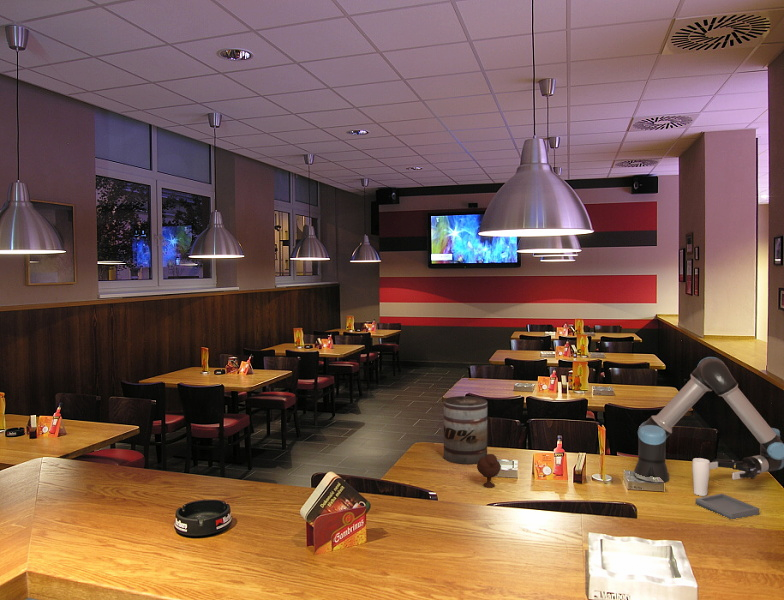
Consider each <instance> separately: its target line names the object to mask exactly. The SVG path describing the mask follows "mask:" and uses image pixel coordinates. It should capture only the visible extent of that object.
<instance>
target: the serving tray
mask: <svg viewBox="0 0 784 600" xmlns="http://www.w3.org/2000/svg"><path fill="white" fill-rule="evenodd" d="M696 504H697V505H696ZM695 505H696V506H698V505H699V507H700V506H701V507H700V508H702V507H703V509H705V508H706V509H705V510H707V509H708V510H707V511H709V510H710V511H709V512H711V511H713V512H712V513H714V512H715V513H714V514H716V513H718V514H720V515H722V516H721V517H723V516H725V517H727V518H729V519H736V518H741V519H743V518H742V517H745V518H749V517H748V516H750V517H754V516H753V515H755V516H759V515H760V508H759V507H757V506H755V505H751V504H749V503H747V502H745V501H741V500H739V499H737V498H734V497H732V496H730V495H727V494H726V493H718V494H713V495H706V496H700V497H698V498H697V497H696V498H695ZM718 514H717V515H718ZM758 514H759V515H758ZM720 515H719V516H720ZM725 517H724V518H725ZM727 518H726V519H727ZM729 519H728V520H729ZM736 520H737V519H736Z"/></svg>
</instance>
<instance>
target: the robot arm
mask: <svg viewBox="0 0 784 600" xmlns="http://www.w3.org/2000/svg"><path fill="white" fill-rule="evenodd" d="M696 366H697V367H695V368H694V370H693V371H692V372H691V373H690V379H689V380H688V381H687V383H685V385H684V386H682V388H680V390H679V391H678V392H677V393H676V394H675V396H673V398H671V400H670V401H669V402H667V404H666V405H665V406H664V407H663V408H662V409H661V410H660V411H659V413H657V414H656V415H651V416H650V417H649V418H648V419H647V420H646V421H643V422H642V423H641V424H640V425H639V427H638V430H637V436H638V437H637V438H638V455H637V456H638V459H637V462H636V465H635V468H634V470H633V473H634V472H635V473H637V474H639V475H642V476H645V477H650V476H653V477H660V478H661V479H662V480H663V481H664V483H667V482H669V481H670V473H669V471H668V468H667V465H666V445H667V444H666V443H667V442H666V440H667V438H668V437H670V435H671V434H672V433H673V427H675V425H676V424H677V423H678V422H679V421H680V419H682V418H683V417H684V416H685V414H686V413H687V412H688V411H689V410H691V408H693V406H694V405H695V404H696V403H697V402H698V401H699V400H700V399H701V398H702V397H703V396H704V394H706V393H707V392H712V391H714V392H715V394H717V395H718V397H722V398H723V399H724V401H725V402H726V403H727V404H728V405H729V406H730V408H731V409H732V410H733V412H734V413H735V414H736V416H738V418H739V419H740V420H741V422H742V423H743V424H744V425H745V426H746V428H747V429H748V430H749V431H750V432H751V434H752V435H753V437H755V439H756V440H757V442H759V444H760V446H759V447H760V450H759V451H760V453H759V455H753V456H747V457H743V459H742V460H741V461H736V460H735V459H712V462H710V470H715V469H718V468H724V469H732V470H735V472H732V480H738V479H739V480H740V479H744V478H746V479H749V478H750V479H751V480H754V479H755V478H756V477H757V476H758V475H761V473H767V472H775V471H778V470H782V469H783V468H784V443H783V441H782V440H781V435H780V434H781V431H780V430H779V429H778V428H775V427H771V426H770V425H769V424H768V423H767V421H766V420H765V419H764V417H762V415H761V414H760V413H759V412H758V410H757V409H756V408H755V406H754V405H753V404H752V403H751V402H750V401H749V399H748V398H747V397H746V396H745V395H744V393H743V392H742V391H741V390H740V388H739V383H738V382H737V381H736V379H735V378H734V376H733V375H732V373H731V371H730V370H729V367H728V366H727V365H726V364H725V363H724V361H722V359H720V358H718V357H714V356H707V357H704V358H703V359H701V360H700V361H699V363H698V364H697V365H696Z"/></svg>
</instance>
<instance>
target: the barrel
mask: <svg viewBox="0 0 784 600" xmlns="http://www.w3.org/2000/svg"><path fill="white" fill-rule="evenodd" d="M487 454H488V400H487V399H485V398H483V397H477V396H471V395H470V396H469V395H461V396H460V395H459V396H450V397H446V398H444V399H443V459H444V460H445V461H446V462H448V463H451V464H454V465H455V464H456V465H464V466H465V465H466V466H467V465H468V466H469V465H477V464H478V462H479V460H480V458H481V457H484V456H486V455H487Z"/></svg>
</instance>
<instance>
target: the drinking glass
mask: <svg viewBox="0 0 784 600" xmlns="http://www.w3.org/2000/svg"><path fill="white" fill-rule="evenodd" d="M691 462H692V464H691V466H692V467H691V470H692V482H693V494H694V495H696V496H698V495H699V497H706V496H708V490H709V489H708V487H709V481H710V480H709V479H710V471H711V469H710V463H711V462H710V460H709V459H706V458H701V457H698V458H697V457H695V458H693V459H692V461H691Z"/></svg>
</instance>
